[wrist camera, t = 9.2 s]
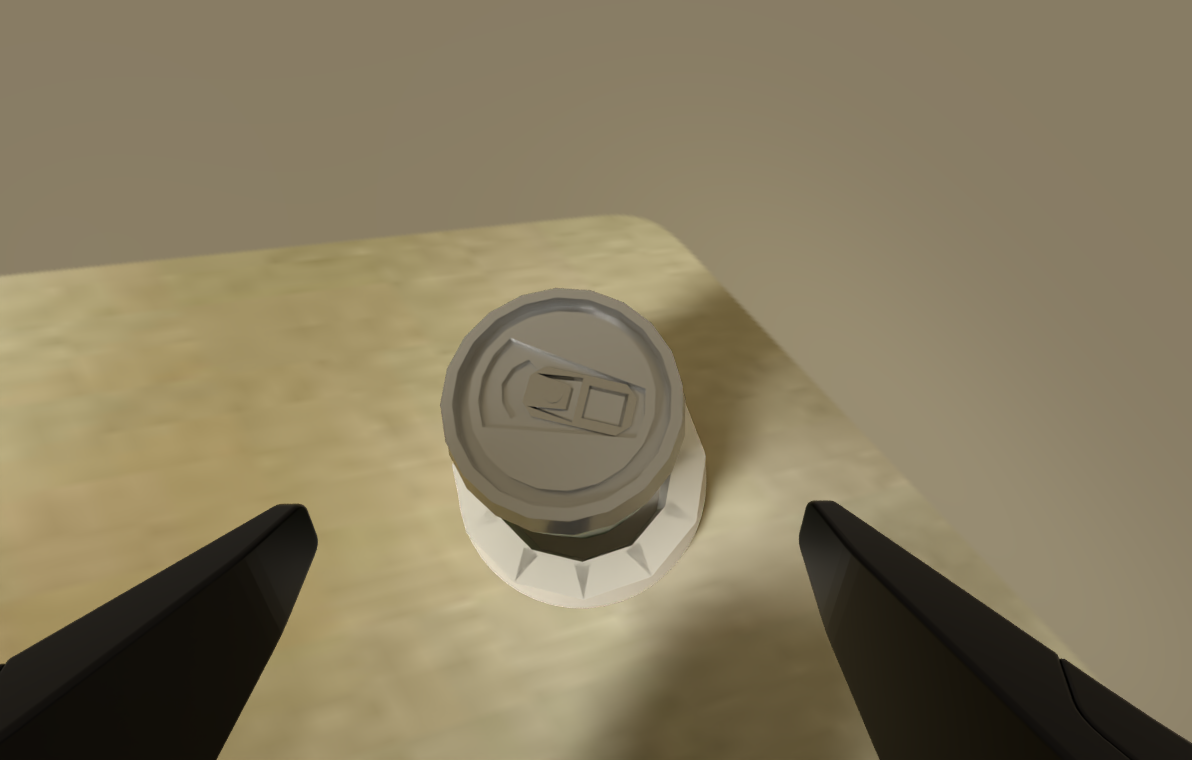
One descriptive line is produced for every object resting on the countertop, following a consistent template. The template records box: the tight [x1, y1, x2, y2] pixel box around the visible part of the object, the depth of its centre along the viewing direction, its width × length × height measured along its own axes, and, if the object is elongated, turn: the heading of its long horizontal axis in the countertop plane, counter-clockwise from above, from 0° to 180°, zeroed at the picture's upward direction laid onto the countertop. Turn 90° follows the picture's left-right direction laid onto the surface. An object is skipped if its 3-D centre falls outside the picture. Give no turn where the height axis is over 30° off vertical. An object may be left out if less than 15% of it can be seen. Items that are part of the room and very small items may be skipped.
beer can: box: [440, 288, 686, 539], centre depth 15 cm, size 5×5×12 cm
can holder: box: [452, 403, 707, 608], centre depth 20 cm, size 11×11×4 cm
